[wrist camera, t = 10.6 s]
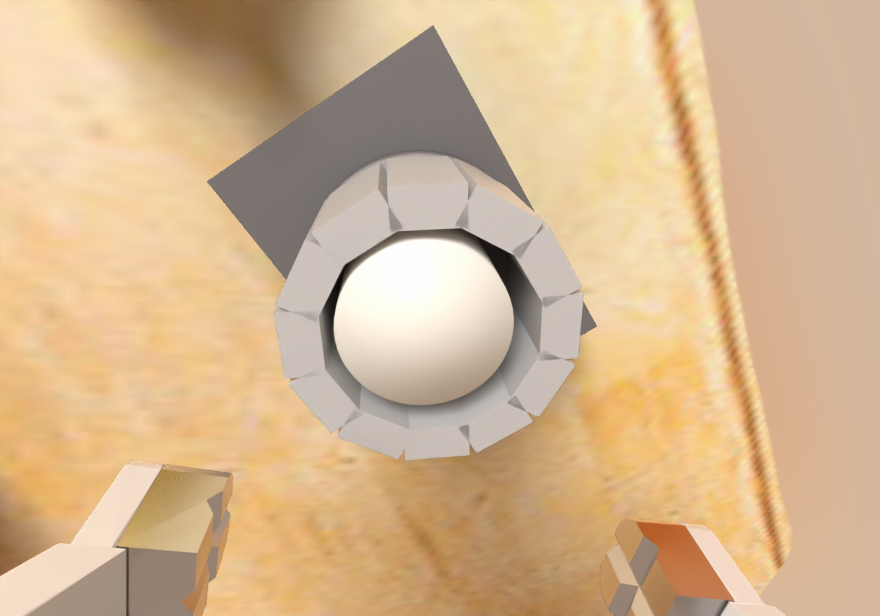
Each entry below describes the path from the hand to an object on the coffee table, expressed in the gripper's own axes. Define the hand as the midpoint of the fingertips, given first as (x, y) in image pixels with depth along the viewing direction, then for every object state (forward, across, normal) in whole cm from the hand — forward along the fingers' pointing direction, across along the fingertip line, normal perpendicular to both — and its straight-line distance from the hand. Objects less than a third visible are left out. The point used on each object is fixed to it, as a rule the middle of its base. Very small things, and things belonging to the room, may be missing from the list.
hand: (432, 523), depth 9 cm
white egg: (+12, 0, 0) cm, 12 cm away
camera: (+20, 0, 0) cm, 20 cm away
